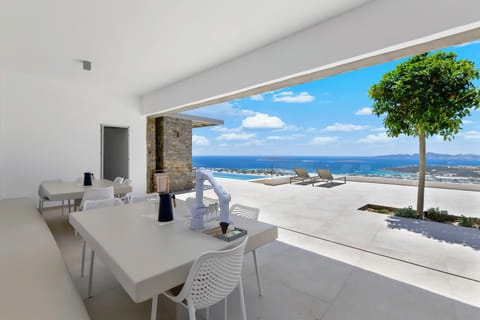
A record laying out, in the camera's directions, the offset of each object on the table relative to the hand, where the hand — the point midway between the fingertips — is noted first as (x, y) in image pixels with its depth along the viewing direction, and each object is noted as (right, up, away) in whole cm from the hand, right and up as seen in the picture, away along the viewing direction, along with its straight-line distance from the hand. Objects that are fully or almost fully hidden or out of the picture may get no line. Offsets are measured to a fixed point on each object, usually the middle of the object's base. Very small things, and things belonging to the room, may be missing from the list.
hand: (224, 233), depth 147 cm
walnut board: (-5, -3, +10) cm, 11 cm away
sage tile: (+8, -2, +4) cm, 9 cm away
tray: (+5, -3, +1) cm, 6 cm away
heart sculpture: (-29, -2, +44) cm, 53 cm away
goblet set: (-9, -2, +43) cm, 44 cm away
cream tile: (+2, -3, -2) cm, 4 cm away
